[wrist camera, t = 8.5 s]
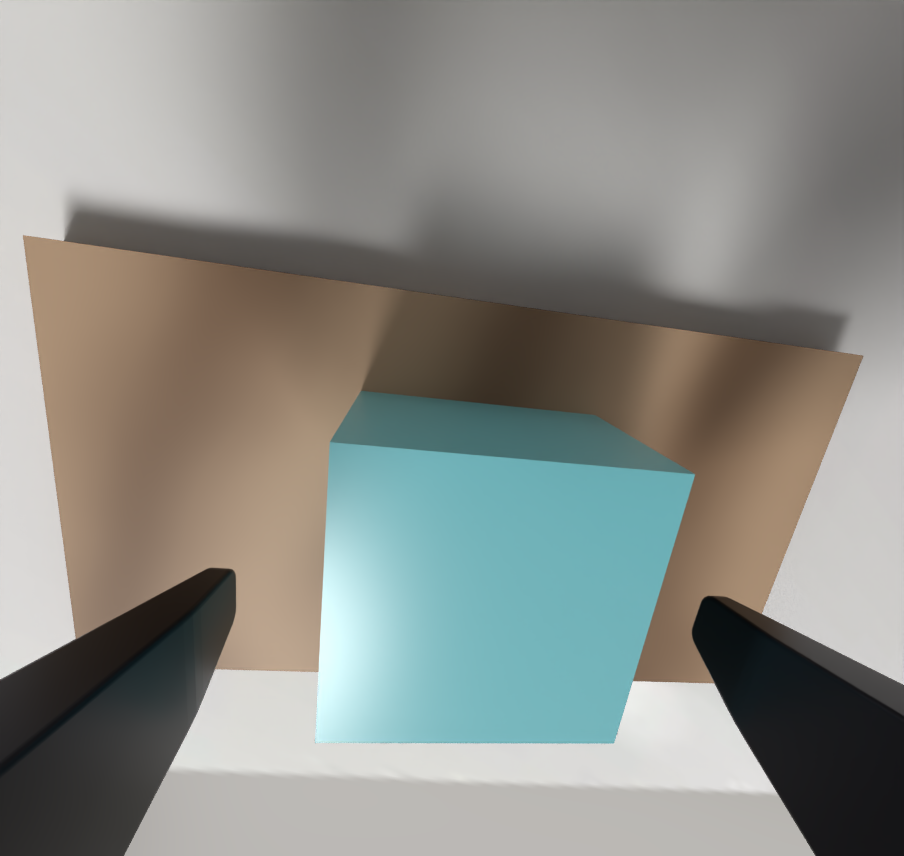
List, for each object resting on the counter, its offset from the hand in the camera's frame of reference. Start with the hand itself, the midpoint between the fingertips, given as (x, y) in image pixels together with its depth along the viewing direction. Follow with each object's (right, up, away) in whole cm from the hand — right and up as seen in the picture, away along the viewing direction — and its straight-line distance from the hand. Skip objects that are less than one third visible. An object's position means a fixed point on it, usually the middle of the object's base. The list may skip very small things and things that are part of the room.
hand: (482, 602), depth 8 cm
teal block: (0, +1, +3) cm, 4 cm away
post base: (0, +1, +4) cm, 5 cm away
